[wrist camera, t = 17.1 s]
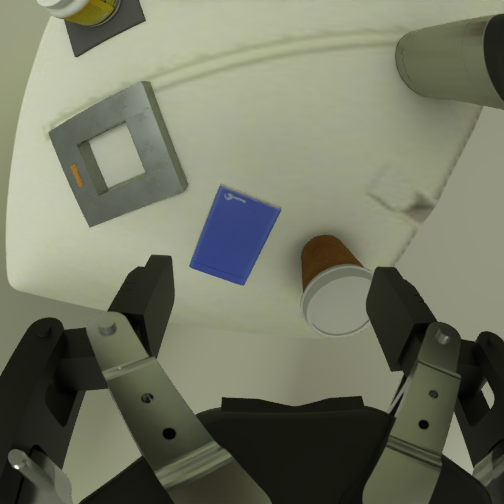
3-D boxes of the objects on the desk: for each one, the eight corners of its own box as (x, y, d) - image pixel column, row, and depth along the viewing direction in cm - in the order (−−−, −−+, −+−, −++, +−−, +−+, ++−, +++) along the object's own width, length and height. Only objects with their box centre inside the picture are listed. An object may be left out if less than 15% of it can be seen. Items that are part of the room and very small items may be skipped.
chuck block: (149, 81, 32) (141, 81, 29) (188, 184, 38) (183, 192, 35) (60, 128, 34) (47, 132, 31) (98, 218, 40) (89, 228, 37)
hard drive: (219, 185, 37) (188, 267, 43) (281, 210, 39) (244, 286, 44) (220, 182, 39) (190, 261, 44) (280, 205, 40) (244, 280, 46)
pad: (126, -36, 23) (125, -38, 23) (145, 20, 28) (144, 19, 27) (61, 1, 25) (59, 0, 24) (77, 57, 29) (74, 56, 29)
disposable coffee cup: (304, 215, 40) (323, 262, 30) (366, 235, 42) (400, 283, 31) (280, 275, 45) (288, 333, 34) (339, 289, 46) (360, 346, 36)
